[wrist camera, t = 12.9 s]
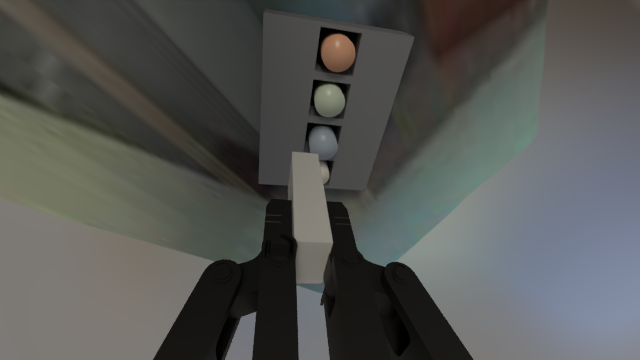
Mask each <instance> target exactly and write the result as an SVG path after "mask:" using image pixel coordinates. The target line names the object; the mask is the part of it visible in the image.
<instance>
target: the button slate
mask: <svg viewBox="0 0 640 360" xmlns="http://www.w3.org/2000/svg"><path fill="white" fill-rule="evenodd" d="M308 140H309V148H310V153H314V154H318V156H319V160H328V159H330V158H332V157H333V156H334V155H335V154H336V153H337V150H338V144H337V140H336V137H335V134H334V131H333V129H332V128H331V127H330V126H328V125H326V124H318V125H316V126H314V127H312V128H311V130H310V131H309V134H308Z"/></svg>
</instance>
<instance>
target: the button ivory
mask: <svg viewBox="0 0 640 360" xmlns="http://www.w3.org/2000/svg"><path fill="white" fill-rule="evenodd" d="M319 162H320V168H321V174H322V180H323V184H325V183H326V182H327V181H328V179H329V171H328V166H327V161H326V160H319Z"/></svg>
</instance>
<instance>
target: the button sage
mask: <svg viewBox="0 0 640 360" xmlns="http://www.w3.org/2000/svg"><path fill="white" fill-rule="evenodd" d="M313 98H314V103H315V107H316V110H317V111H318V113H319V114H320V115H322V116H324V117H334V116H336V115H338V114H339V113H340V112H341V111H342V110H343V108H344V106H345V98H344V95H343V93H342V91H341V89H340V87H339V85H338V84H337V83H336V82H331V81H323V80H322V81H320V82H319V83H317V85H316V86H315V88H314V90H313Z"/></svg>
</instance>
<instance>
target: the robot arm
mask: <svg viewBox="0 0 640 360" xmlns="http://www.w3.org/2000/svg"><path fill="white" fill-rule="evenodd" d="M350 224H351V223H350V219H349V215H348V211H347V209H346V207H345V206H344V205H343V204H342V202H328V201H326V198H325V192H324V186H323V180H322V174H321V168H320V162H319V156H318V154H314V153H302V152H292V157H291V166H290V175H289V185H288V200H281V199H271V200H270V202H269V203H268V204H267V206H266V217H265V228H264V238H263V243H262V251H261V252H260V254H259V255H258V256H257V257H256V258H254V259H253V260H250V261H248V262H245V263H241V264H237V263H236V262H234V261H231V260H224V259H223V260H219V261H215V262H214V263H212V264H210V265H209V266H208V267H207V268H206V269H205V271H204V272H203V274H202V276H201V277H200V279H199V281H198V283H197V284H196V286H195V288H194V290H193V291H192V293H191V295H190V297H189V298H188V300H187V302H186V304H185V305H184V307H183V309H182V310H181V312H180V314H179V316H178V317H177V319H176V321H175V322H174V324H173V326H172V328H171V329H170V331H169V333H168V335H167V337H166V338H165V340H164V342H163V343H162V345H161V347H160V349H159V350H158V352H157V354H156V356H155V357H154V359H153V360H225V357H226V355H227V352H228V349H229V347H230V344H231V342H232V339H233V337H234V334H235V331H236V329H237V326H238V324H239V321H240V318H241V317H242V316H245V315H248V314H250V313H253V312H256V311H257V312H256V323H255V335H254V345H253V358H252V360H299V359H298V325H297V293H296V283H319V284H322V281H323V278H324V283H325V288H324V291H323V295H322V298H321V304H320V305H323V303H324V309H325V317H326V327H327V337H328V346H329V355H330V360H473V358H472V357H471V355H470V354H469V352H468V351H467V349H466V348H465V347H464V345H463V344H462V342H461V341H460V339H459V338H458V336H457V335H456V333H455V332H454V331H453V329H452V328H451V326H450V325H449V323H448V321H447V320H446V319H445V317H444V316H443V314H442V313H441V311H440V310H439V308H438V307H437V306H436V304H435V303H434V301H433V300H432V298H431V297H430V295H429V294H428V292H427V291H426V289H425V288H424V286H423V285H422V283H421V282H420V280H419V279H418V277H417V276H416V275H415V273H414V272H413V271H412V270H411V268H409V267H408V266H407V265H405V264H403V263H399V262H391V263H389V264H387V266H386V267H383V266H380V265H377V264H374V263H371V262H369V261H367V260H366V259H364V257H363V255H362V254H361V253H360V252H359V251H358V250H357V247H356V243H355V239H354V235H353V231H352V227H351V225H350Z"/></svg>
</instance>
